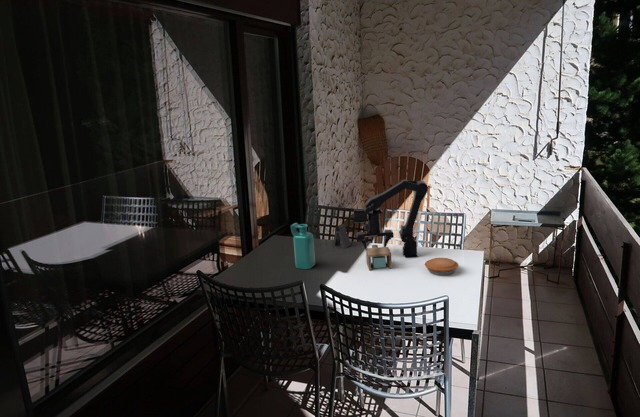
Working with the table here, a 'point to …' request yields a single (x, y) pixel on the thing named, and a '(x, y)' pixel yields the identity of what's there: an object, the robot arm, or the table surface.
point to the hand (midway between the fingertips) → (375, 250)
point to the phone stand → (341, 237)
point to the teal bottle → (303, 246)
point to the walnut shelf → (378, 252)
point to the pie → (441, 266)
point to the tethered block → (378, 260)
